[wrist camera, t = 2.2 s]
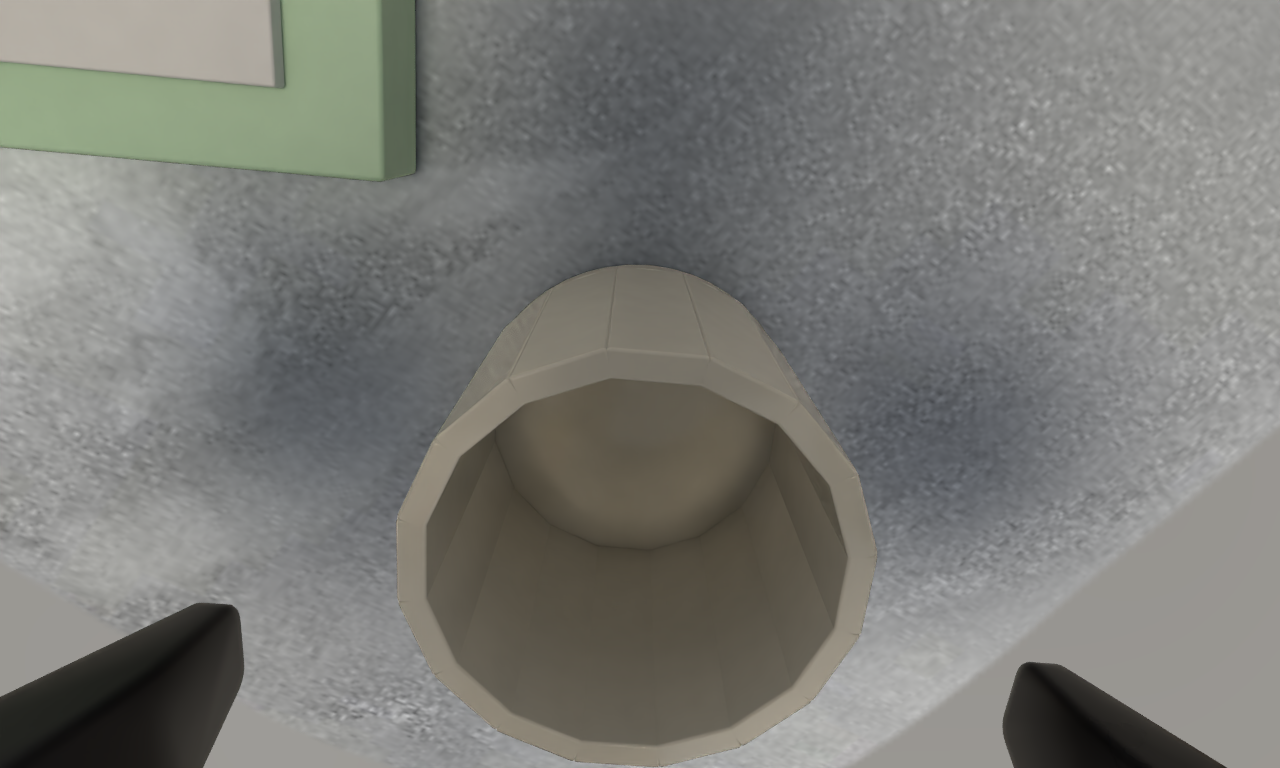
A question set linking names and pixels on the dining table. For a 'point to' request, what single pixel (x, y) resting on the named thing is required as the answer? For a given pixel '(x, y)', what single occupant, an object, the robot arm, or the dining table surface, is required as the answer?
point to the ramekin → (635, 528)
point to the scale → (215, 83)
